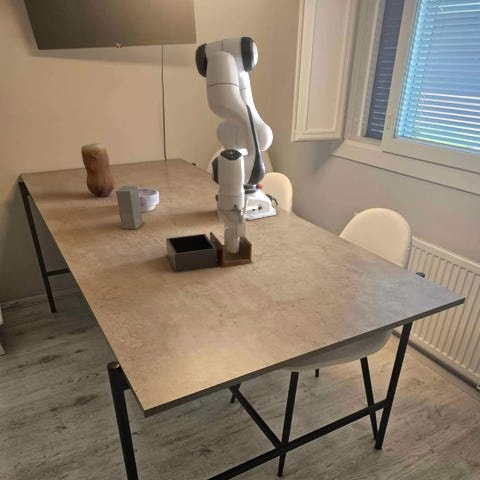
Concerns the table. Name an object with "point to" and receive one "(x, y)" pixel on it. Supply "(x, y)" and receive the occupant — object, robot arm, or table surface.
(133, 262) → the table surface
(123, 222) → the cosmetic box
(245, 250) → the wooden shelf
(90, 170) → the butternut squash
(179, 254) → the dark grey open box
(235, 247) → the eye dropper bottle
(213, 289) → the table surface
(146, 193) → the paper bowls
